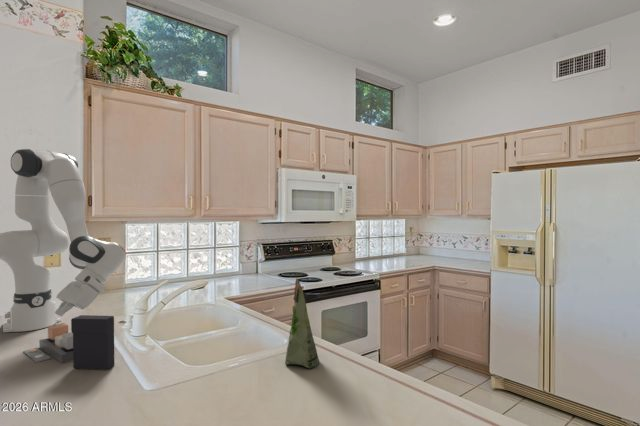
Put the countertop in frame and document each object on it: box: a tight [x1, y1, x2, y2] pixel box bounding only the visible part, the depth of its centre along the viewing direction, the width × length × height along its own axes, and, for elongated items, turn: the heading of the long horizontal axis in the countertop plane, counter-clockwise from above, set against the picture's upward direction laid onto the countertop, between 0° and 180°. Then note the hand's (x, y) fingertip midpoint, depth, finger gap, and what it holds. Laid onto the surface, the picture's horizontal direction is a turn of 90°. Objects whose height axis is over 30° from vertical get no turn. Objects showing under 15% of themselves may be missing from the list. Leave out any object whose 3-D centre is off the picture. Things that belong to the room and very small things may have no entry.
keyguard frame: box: [39, 337, 73, 364], centre depth 121 cm, size 22×9×2 cm, turn 52°
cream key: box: [55, 335, 63, 348], centre depth 121 cm, size 5×5×4 cm
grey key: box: [62, 331, 73, 349], centre depth 117 cm, size 5×5×4 cm
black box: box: [70, 314, 115, 371], centre depth 108 cm, size 11×4×15 cm, turn 84°
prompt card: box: [22, 347, 51, 363], centre depth 117 cm, size 14×4×1 cm, turn 52°
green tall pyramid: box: [285, 277, 320, 369], centre depth 110 cm, size 11×12×25 cm
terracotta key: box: [47, 322, 69, 340], centre depth 125 cm, size 5×5×4 cm
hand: (57, 314), depth 125 cm, fingers closed
